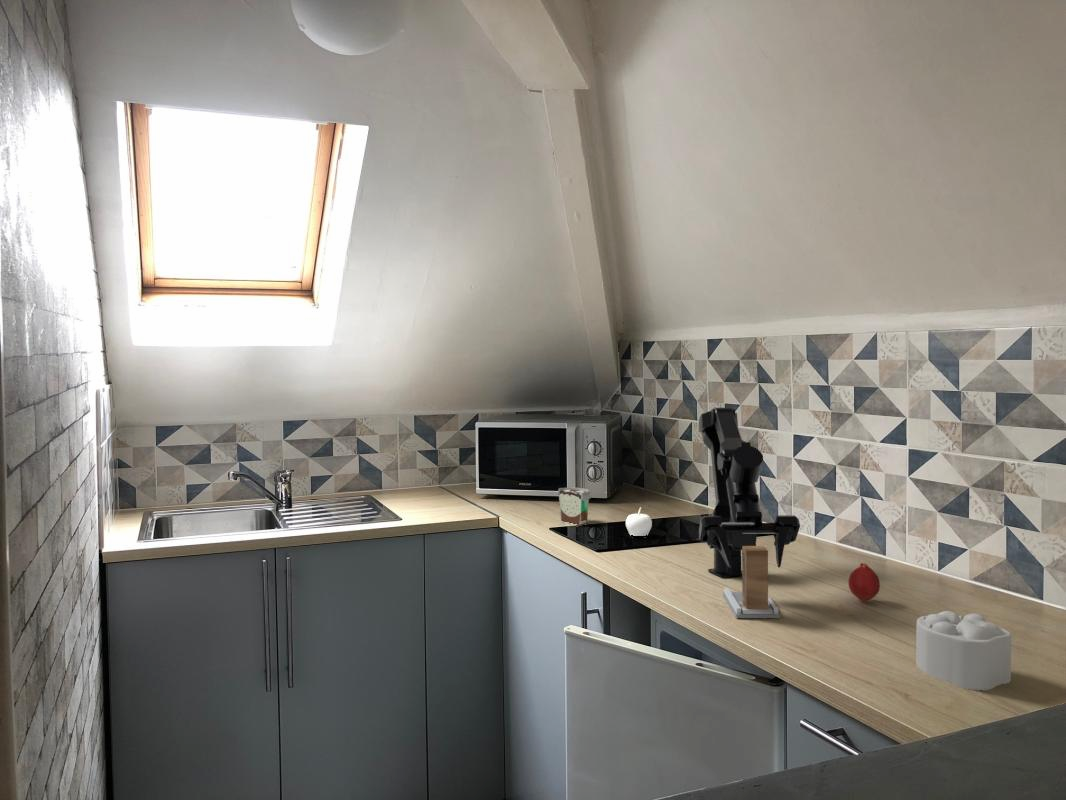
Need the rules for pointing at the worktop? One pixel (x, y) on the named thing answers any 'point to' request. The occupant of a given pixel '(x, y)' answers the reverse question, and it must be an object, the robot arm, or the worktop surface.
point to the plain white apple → (638, 524)
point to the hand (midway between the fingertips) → (754, 566)
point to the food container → (574, 505)
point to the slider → (733, 600)
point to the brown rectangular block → (755, 581)
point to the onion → (864, 583)
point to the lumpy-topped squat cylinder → (963, 650)
